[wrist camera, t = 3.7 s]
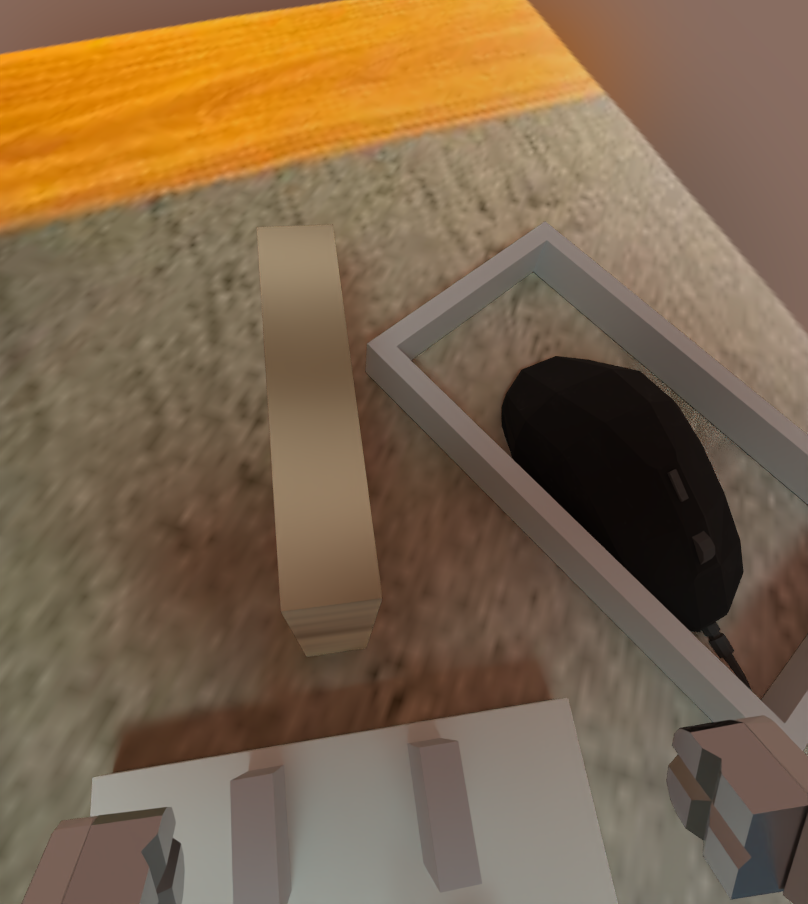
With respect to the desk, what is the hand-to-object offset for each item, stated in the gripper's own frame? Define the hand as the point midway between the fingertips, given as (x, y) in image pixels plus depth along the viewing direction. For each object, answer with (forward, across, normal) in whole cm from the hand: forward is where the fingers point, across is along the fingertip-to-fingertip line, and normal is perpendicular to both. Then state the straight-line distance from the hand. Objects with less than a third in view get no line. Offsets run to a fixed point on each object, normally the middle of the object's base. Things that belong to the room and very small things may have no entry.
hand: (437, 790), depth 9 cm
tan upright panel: (+13, +2, +1) cm, 13 cm away
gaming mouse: (+13, -10, +3) cm, 17 cm away
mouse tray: (+14, -10, +1) cm, 17 cm away
